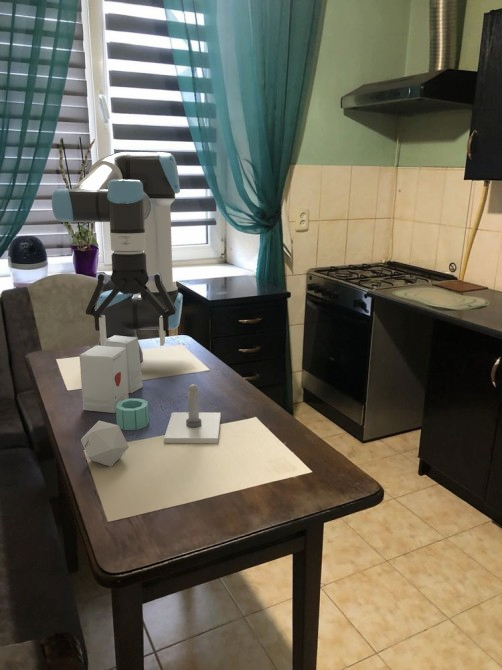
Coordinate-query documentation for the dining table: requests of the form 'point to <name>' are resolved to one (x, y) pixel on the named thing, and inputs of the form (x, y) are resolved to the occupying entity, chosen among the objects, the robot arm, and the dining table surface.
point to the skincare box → (129, 359)
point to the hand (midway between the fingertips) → (133, 344)
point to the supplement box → (103, 378)
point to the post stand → (193, 423)
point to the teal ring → (132, 414)
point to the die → (104, 443)
